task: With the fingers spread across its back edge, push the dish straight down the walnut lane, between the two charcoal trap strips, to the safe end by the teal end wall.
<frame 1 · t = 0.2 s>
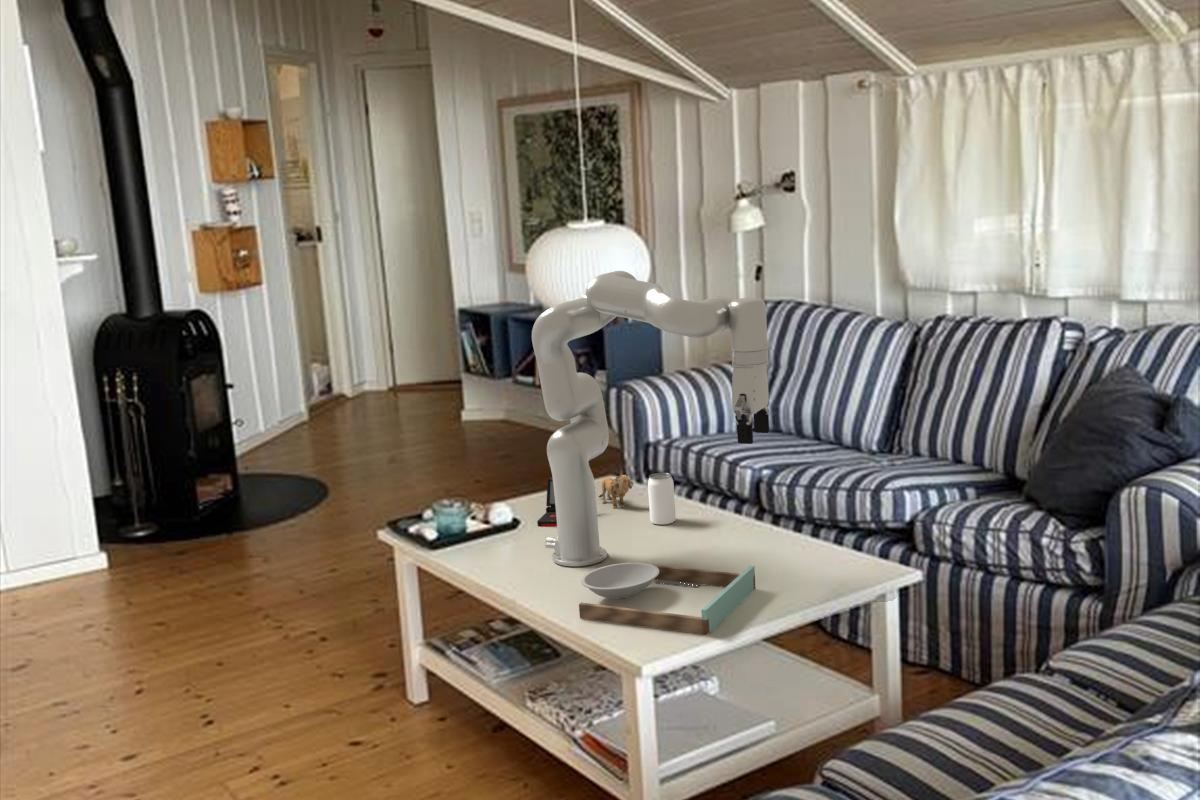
hand: (753, 437, 255), 31 cm above the table, tool pointing down, fingers open, 9 cm apart
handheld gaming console: (560, 520, 314), on the table
lion figurine: (615, 505, 325), on the table
can: (663, 522, 306), on the table
dish: (621, 598, 256), on the table
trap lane: (669, 603, 250), on the table
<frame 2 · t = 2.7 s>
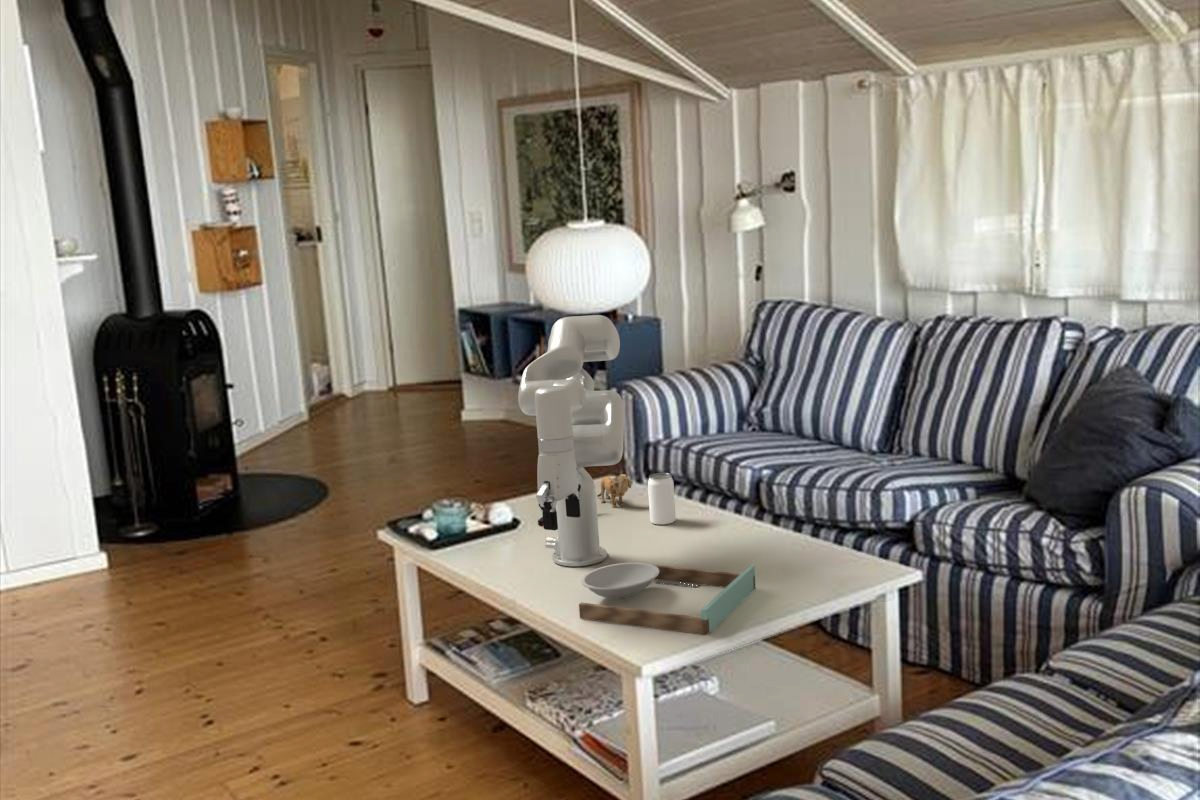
hand: (562, 523, 258), 15 cm above the table, tool pointing down, fingers open, 9 cm apart
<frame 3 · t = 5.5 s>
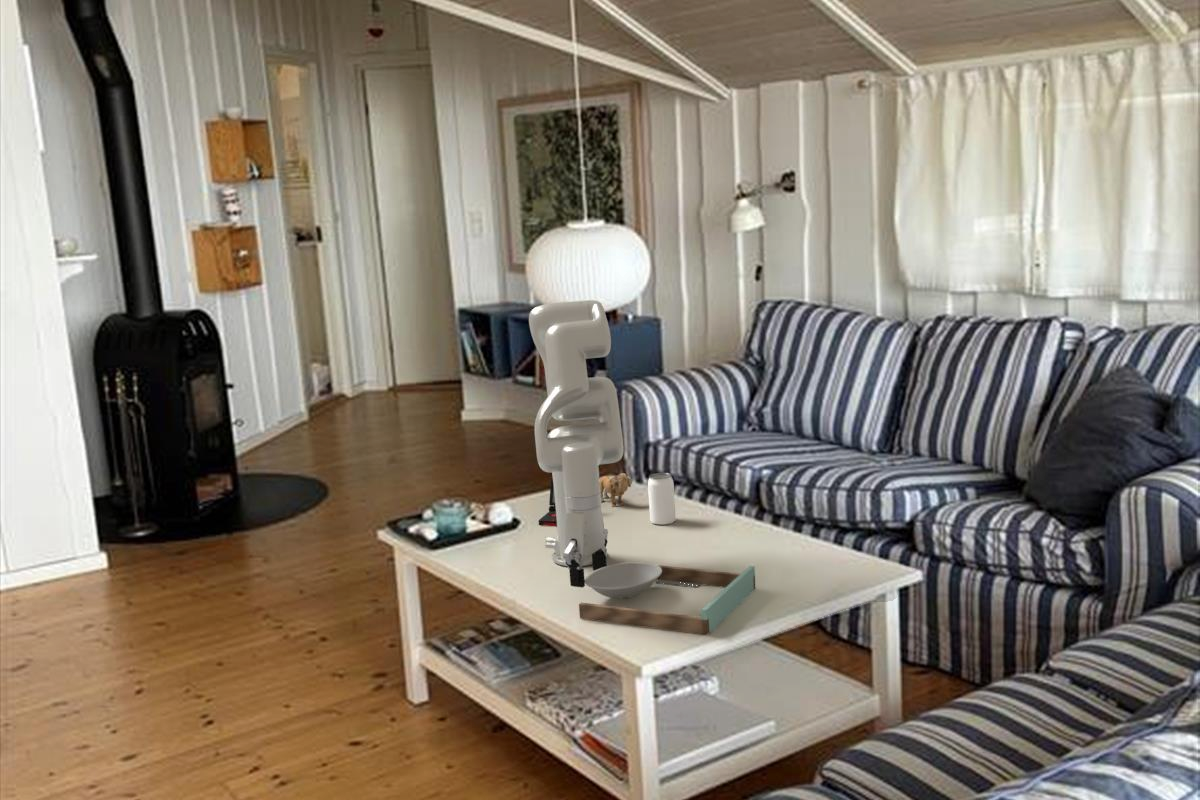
hand: (589, 578, 258), 3 cm above the table, tool pointing down, fingers open, 9 cm apart
dish: (625, 598, 256), on the table, touching gripper
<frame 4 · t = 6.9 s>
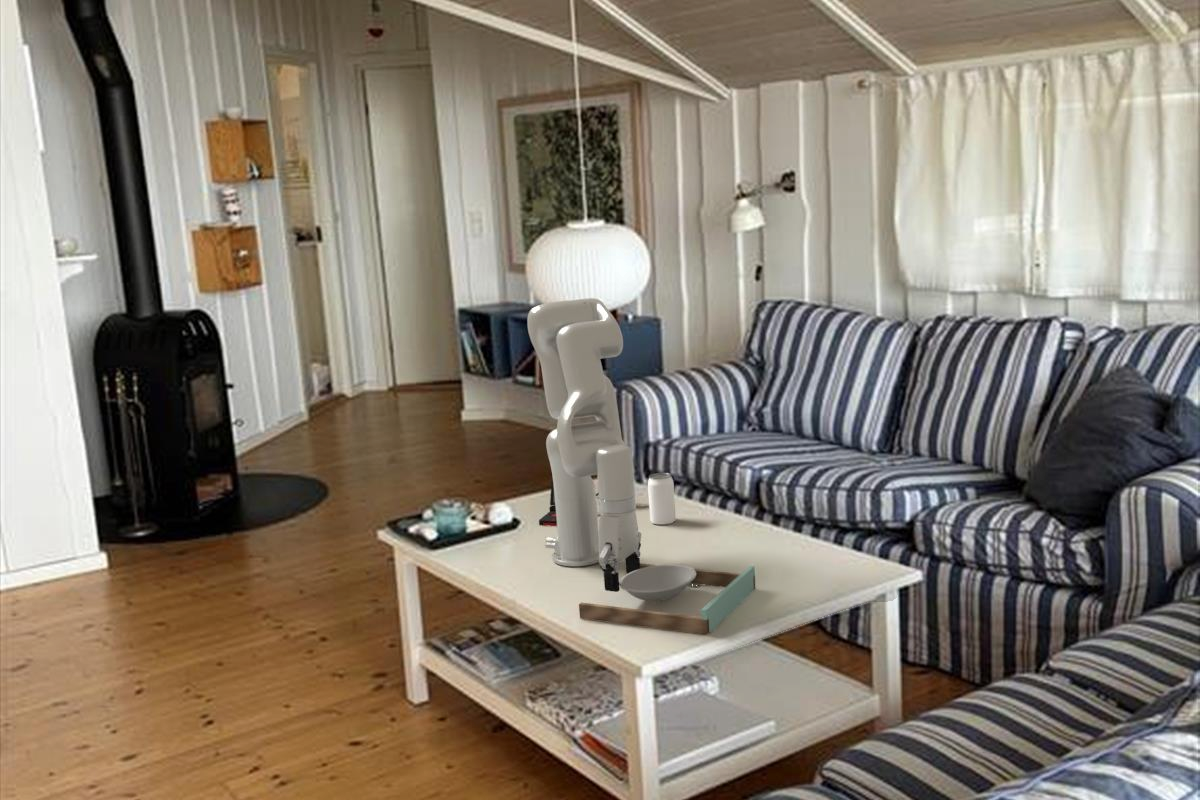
hand: (623, 582, 255), 3 cm above the table, tool pointing down
dish: (659, 601, 252), on the table, touching gripper
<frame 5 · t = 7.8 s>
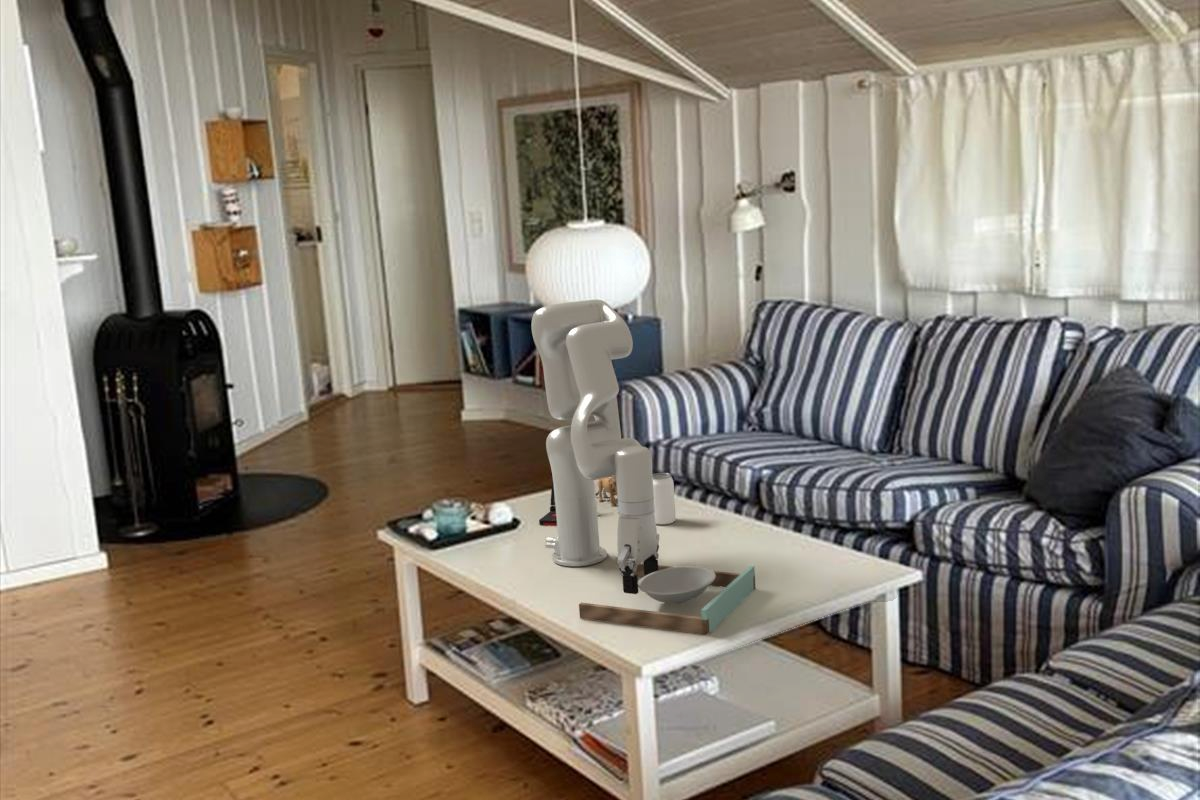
hand: (641, 585, 253), 3 cm above the table, tool pointing down
dish: (678, 603, 250), on the table, touching gripper
when the fingers open (3 cm above the table, at t = 9.2 s): dish stays where it is, on the table.
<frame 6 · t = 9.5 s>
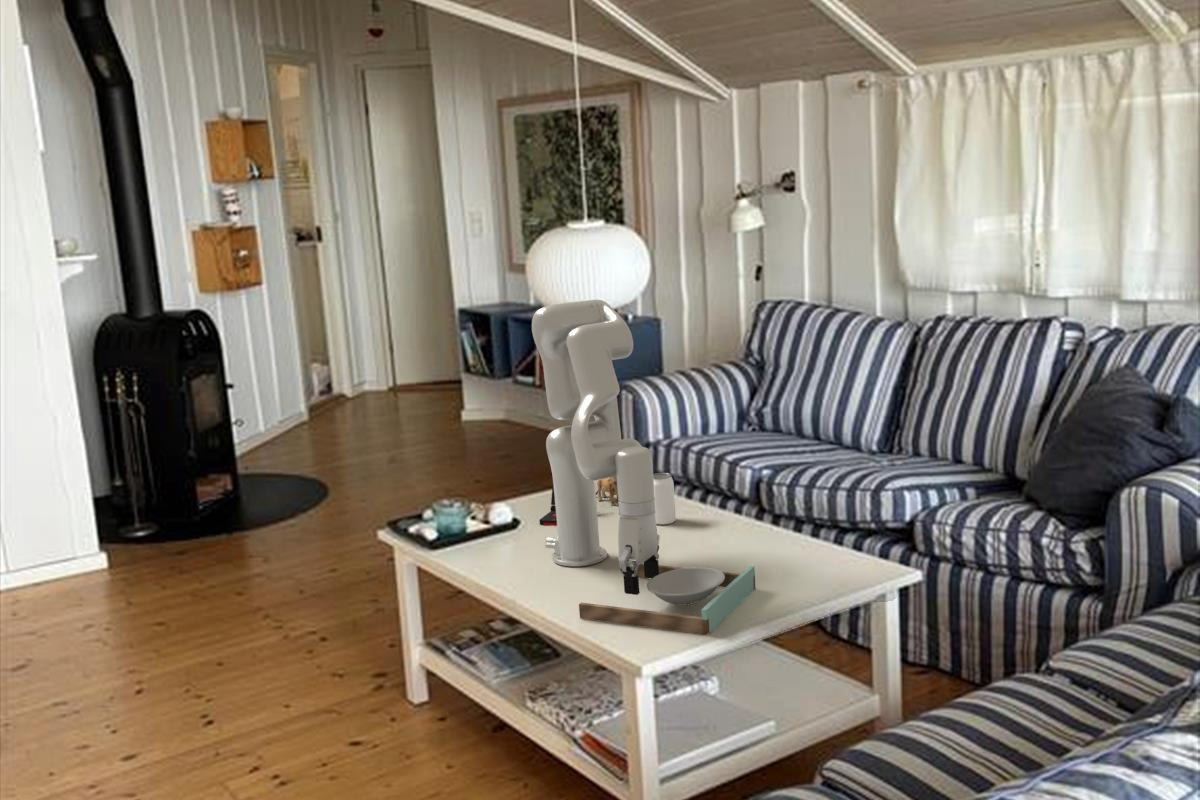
hand: (642, 585, 253), 3 cm above the table, tool pointing down, fingers open, 9 cm apart
dish: (687, 604, 250), on the table
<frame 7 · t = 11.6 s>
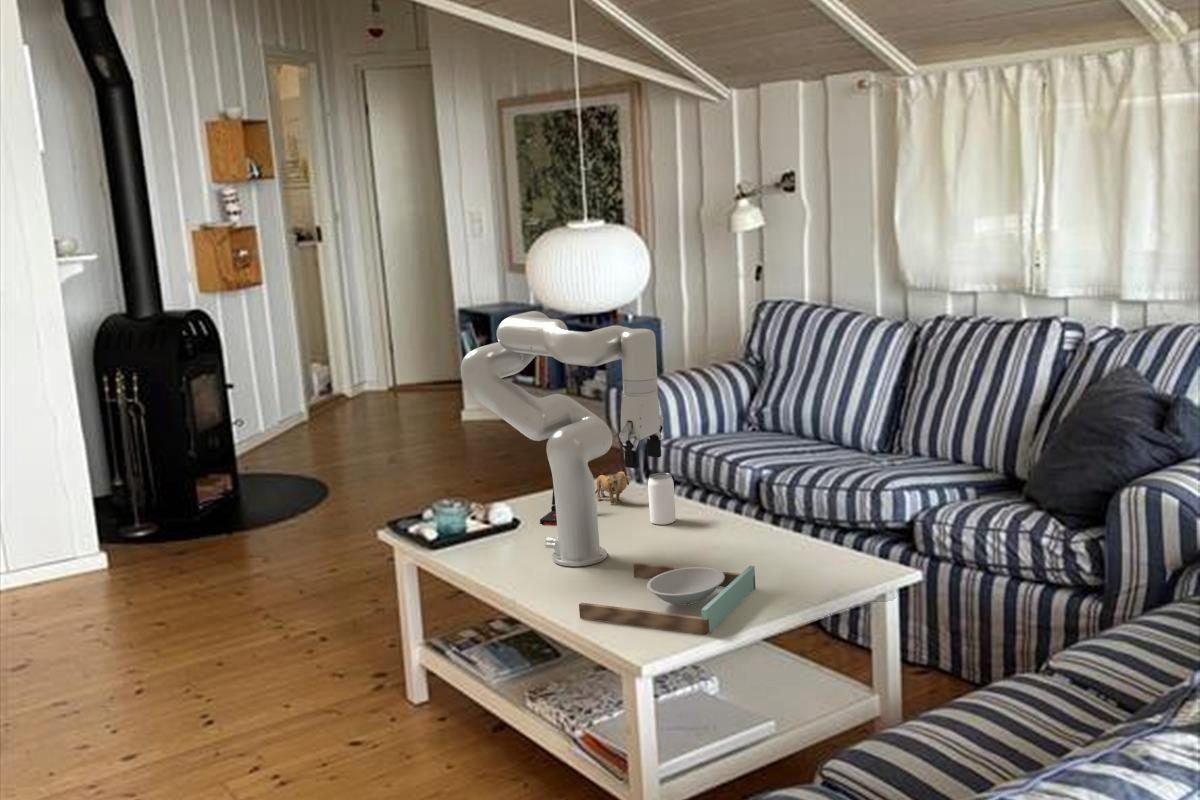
hand: (643, 462, 267), 25 cm above the table, tool pointing down, fingers open, 9 cm apart
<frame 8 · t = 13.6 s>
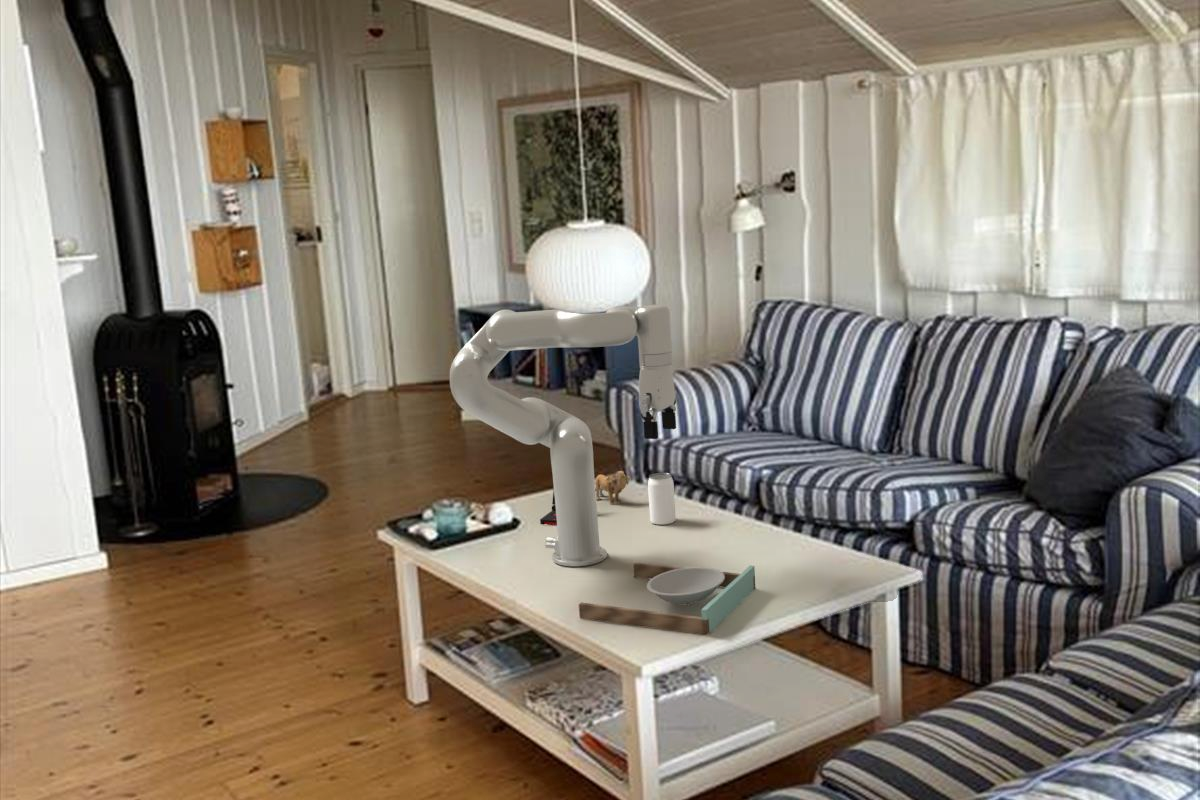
hand: (660, 433, 277), 28 cm above the table, tool pointing down, fingers open, 9 cm apart
at the end: dish inside the target area (1.1 cm from its centre), on the table; dish tilted 0° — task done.
